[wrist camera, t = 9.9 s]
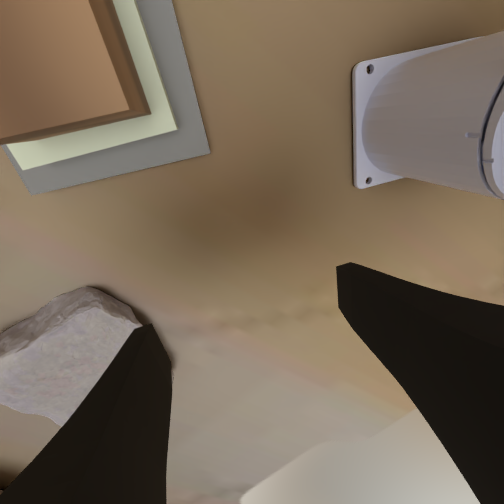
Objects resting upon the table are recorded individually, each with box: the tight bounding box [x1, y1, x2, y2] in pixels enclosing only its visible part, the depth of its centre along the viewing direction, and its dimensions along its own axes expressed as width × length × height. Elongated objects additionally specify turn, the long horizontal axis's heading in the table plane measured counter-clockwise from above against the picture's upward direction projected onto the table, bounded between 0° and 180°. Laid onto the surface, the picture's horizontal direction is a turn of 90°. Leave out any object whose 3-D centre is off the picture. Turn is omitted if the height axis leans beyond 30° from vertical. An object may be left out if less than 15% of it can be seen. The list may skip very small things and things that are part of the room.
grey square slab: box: [1, 0, 210, 195], centre depth 14 cm, size 10×10×2 cm
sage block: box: [6, 0, 178, 170], centre depth 11 cm, size 7×7×2 cm
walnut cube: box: [0, 0, 152, 145], centre depth 8 cm, size 5×5×5 cm
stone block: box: [0, 286, 174, 426], centre depth 21 cm, size 12×5×10 cm
